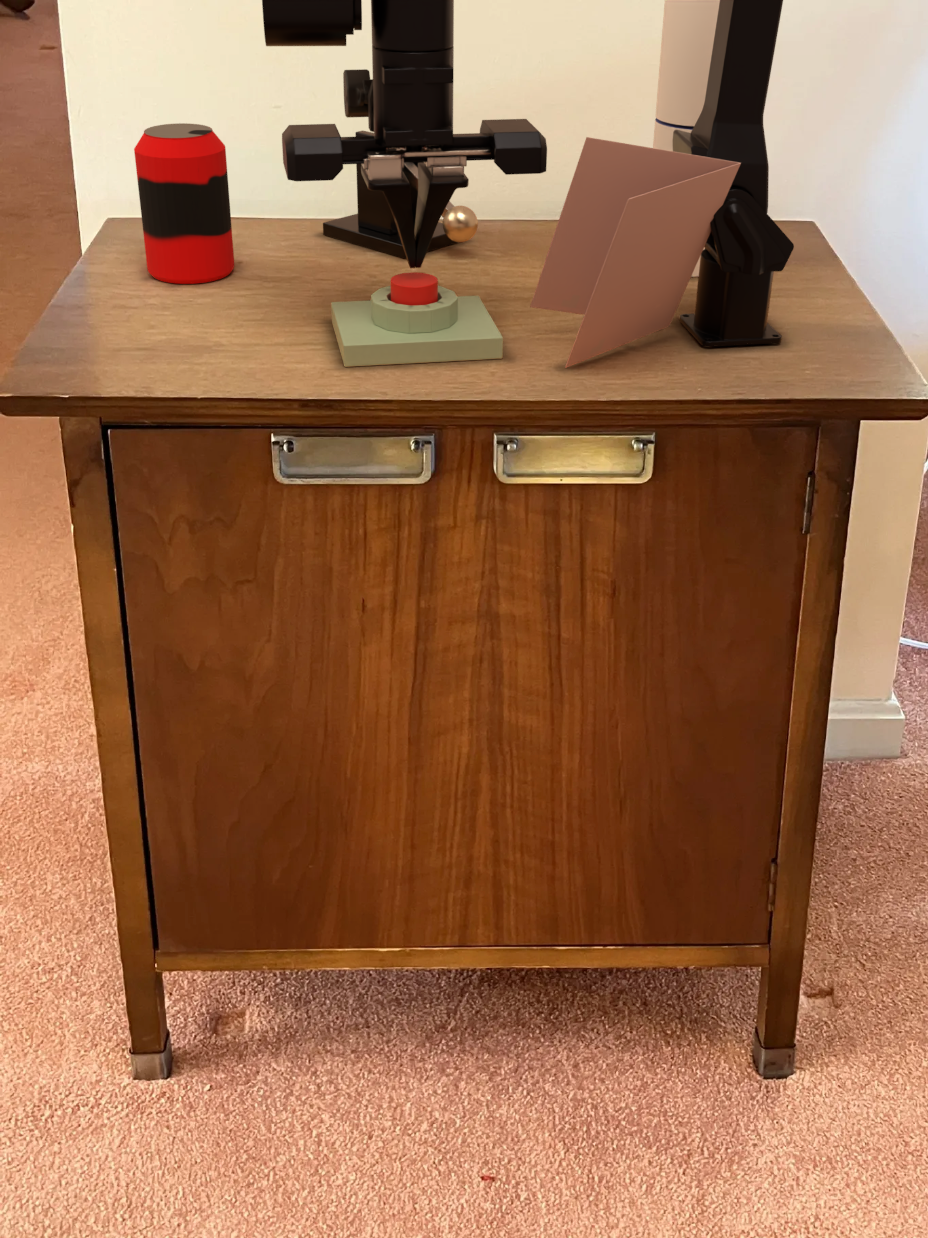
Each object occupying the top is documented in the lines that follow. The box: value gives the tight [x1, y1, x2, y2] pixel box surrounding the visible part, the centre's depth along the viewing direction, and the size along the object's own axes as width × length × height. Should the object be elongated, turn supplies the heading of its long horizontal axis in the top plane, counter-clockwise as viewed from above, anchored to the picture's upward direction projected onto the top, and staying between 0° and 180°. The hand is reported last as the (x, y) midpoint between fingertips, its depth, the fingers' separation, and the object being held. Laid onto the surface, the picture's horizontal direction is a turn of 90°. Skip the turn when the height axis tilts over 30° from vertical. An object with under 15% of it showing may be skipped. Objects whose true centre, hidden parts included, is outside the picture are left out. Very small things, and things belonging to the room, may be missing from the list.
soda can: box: [133, 122, 235, 285], centre depth 118 cm, size 8×8×12 cm
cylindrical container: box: [652, 0, 720, 278], centre depth 118 cm, size 7×7×25 cm
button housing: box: [330, 284, 504, 368], centre depth 106 cm, size 10×12×4 cm
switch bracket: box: [322, 130, 459, 260], centre depth 128 cm, size 11×8×10 cm
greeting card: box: [529, 136, 741, 369], centre depth 99 cm, size 11×7×15 cm, turn 98°
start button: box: [390, 271, 439, 306], centre depth 104 cm, size 4×4×2 cm
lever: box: [397, 148, 479, 243], centre depth 125 cm, size 13×3×3 cm, turn 47°
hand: (414, 266), depth 104 cm, fingers closed
